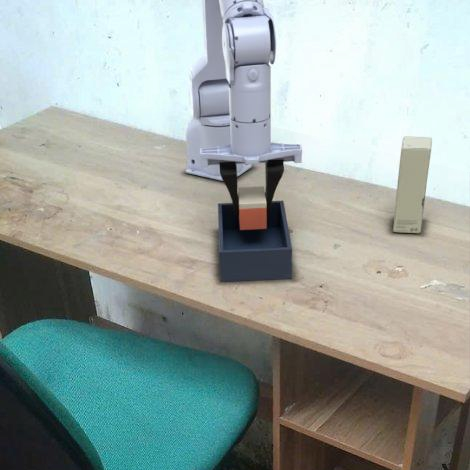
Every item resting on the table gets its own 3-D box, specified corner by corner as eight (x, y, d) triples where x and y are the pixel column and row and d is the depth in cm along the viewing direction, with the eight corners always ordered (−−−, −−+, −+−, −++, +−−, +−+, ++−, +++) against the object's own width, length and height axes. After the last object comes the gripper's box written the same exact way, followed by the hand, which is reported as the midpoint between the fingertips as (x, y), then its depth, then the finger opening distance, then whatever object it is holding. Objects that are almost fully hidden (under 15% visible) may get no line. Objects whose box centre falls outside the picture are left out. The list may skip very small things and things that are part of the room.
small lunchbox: (238, 213, 123) (237, 187, 120) (264, 211, 123) (264, 186, 120) (239, 230, 119) (239, 203, 116) (266, 229, 118) (266, 202, 116)
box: (420, 234, 123) (432, 149, 114) (391, 233, 124) (401, 148, 115) (421, 220, 127) (433, 135, 118) (393, 218, 127) (403, 134, 118)
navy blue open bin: (219, 231, 126) (217, 203, 123) (283, 228, 126) (283, 200, 123) (220, 282, 115) (219, 251, 111) (291, 278, 115) (291, 248, 111)
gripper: (197, 128, 107) (204, 225, 117) (304, 123, 107) (302, 221, 117) (198, 111, 112) (203, 205, 122) (300, 106, 112) (298, 201, 122)
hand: (251, 211), depth 120 cm, fingers closed on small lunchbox, 4 cm apart
